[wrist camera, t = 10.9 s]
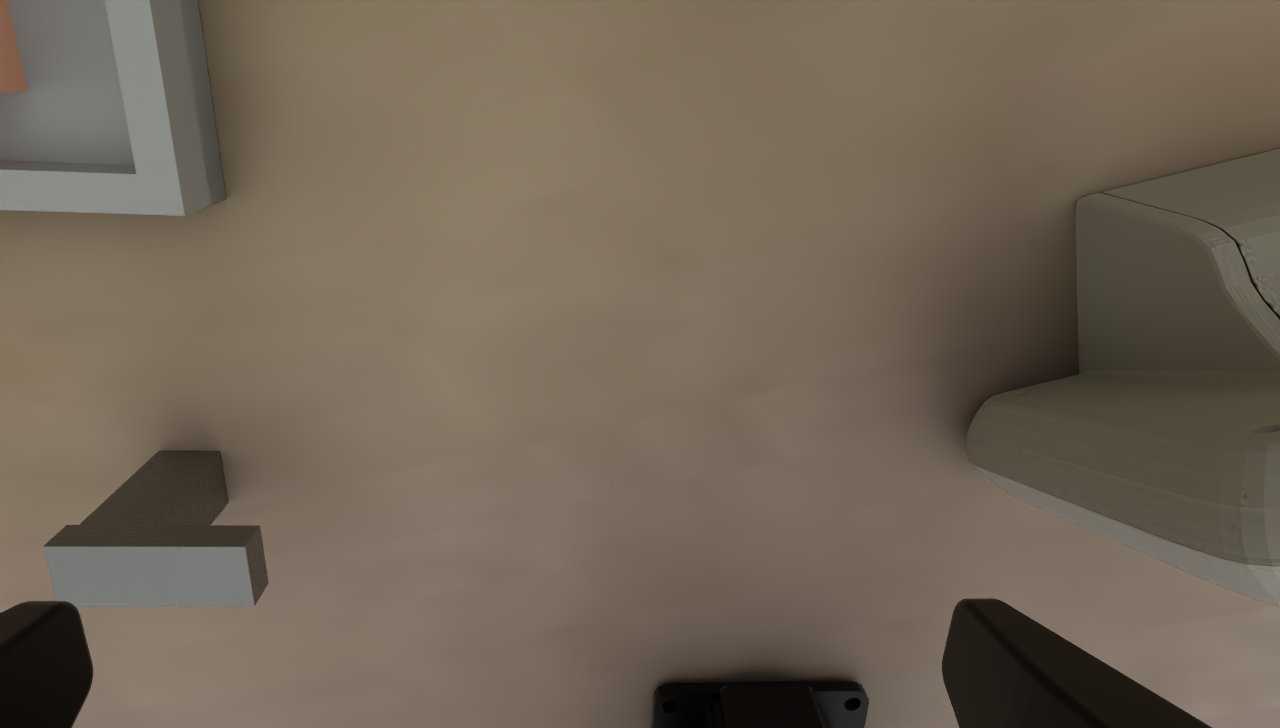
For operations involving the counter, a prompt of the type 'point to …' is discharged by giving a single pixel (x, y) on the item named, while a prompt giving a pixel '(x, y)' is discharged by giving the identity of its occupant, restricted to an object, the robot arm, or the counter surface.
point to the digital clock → (1164, 380)
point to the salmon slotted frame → (9, 54)
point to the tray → (110, 110)
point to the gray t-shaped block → (160, 542)
